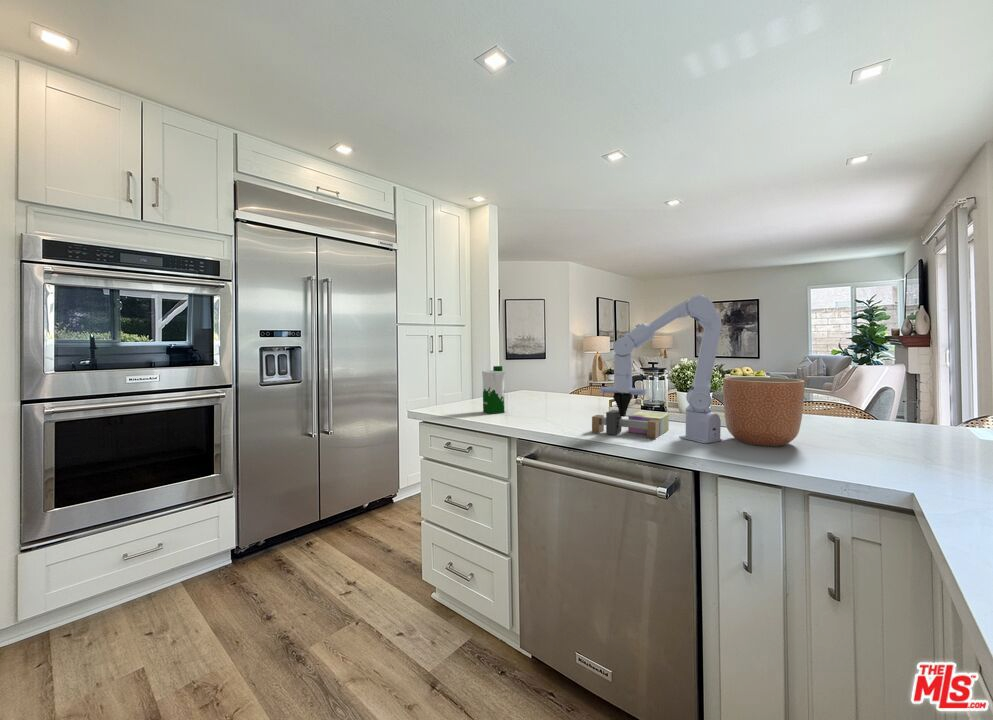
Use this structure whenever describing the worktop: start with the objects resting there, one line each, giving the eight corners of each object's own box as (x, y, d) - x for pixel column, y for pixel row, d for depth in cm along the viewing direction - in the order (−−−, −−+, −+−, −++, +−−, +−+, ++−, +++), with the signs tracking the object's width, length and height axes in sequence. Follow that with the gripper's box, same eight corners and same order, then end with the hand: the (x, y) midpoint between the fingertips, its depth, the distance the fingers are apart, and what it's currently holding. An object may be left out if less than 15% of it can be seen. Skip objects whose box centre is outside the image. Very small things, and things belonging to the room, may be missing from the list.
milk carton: (507, 413, 187) (507, 366, 187) (488, 414, 184) (487, 367, 183) (498, 410, 195) (498, 365, 195) (480, 411, 192) (479, 366, 191)
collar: (621, 431, 146) (621, 410, 146) (615, 434, 140) (615, 413, 140) (612, 430, 148) (612, 409, 148) (606, 433, 142) (606, 412, 142)
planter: (706, 437, 137) (707, 377, 136) (754, 432, 144) (755, 375, 143) (768, 453, 117) (770, 383, 117) (820, 446, 125) (822, 380, 124)
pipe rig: (658, 436, 139) (658, 420, 139) (655, 439, 135) (655, 422, 135) (596, 430, 150) (597, 414, 150) (591, 432, 146) (592, 416, 145)
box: (638, 427, 155) (628, 432, 146) (638, 411, 155) (628, 415, 145) (668, 430, 149) (660, 436, 140) (669, 413, 149) (660, 418, 140)
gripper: (648, 374, 141) (648, 416, 142) (605, 373, 149) (605, 412, 150) (643, 376, 136) (643, 419, 136) (598, 374, 143) (598, 415, 144)
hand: (622, 416), depth 142 cm, fingers closed
